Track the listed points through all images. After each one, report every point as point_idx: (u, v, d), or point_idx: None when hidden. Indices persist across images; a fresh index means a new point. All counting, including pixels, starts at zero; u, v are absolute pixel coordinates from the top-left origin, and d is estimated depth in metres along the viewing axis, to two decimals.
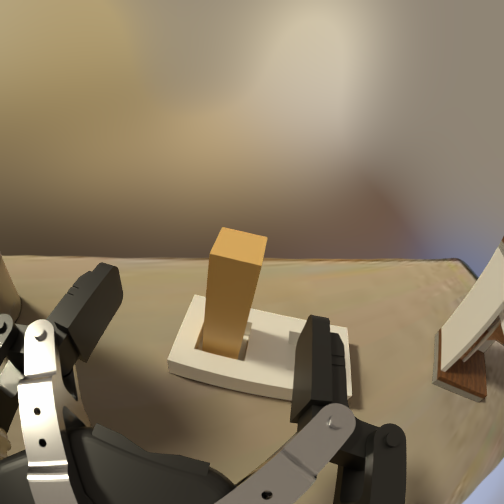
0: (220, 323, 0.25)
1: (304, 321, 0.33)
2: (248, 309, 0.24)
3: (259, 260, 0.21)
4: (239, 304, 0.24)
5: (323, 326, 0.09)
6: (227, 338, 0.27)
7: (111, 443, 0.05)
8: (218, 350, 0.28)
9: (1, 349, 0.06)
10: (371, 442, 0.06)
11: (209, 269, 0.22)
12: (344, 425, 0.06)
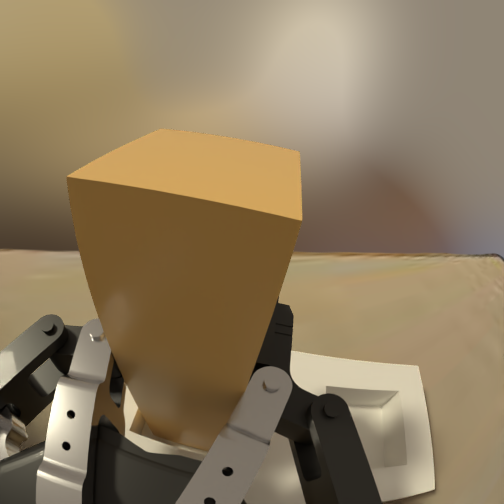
0: (168, 403, 0.08)
1: (351, 363, 0.16)
2: (240, 387, 0.07)
3: (287, 200, 0.04)
4: (211, 374, 0.07)
5: None
6: (194, 426, 0.10)
7: (111, 443, 0.05)
8: (181, 435, 0.11)
9: (43, 353, 0.06)
10: (310, 417, 0.06)
11: (82, 250, 0.05)
12: (278, 388, 0.07)
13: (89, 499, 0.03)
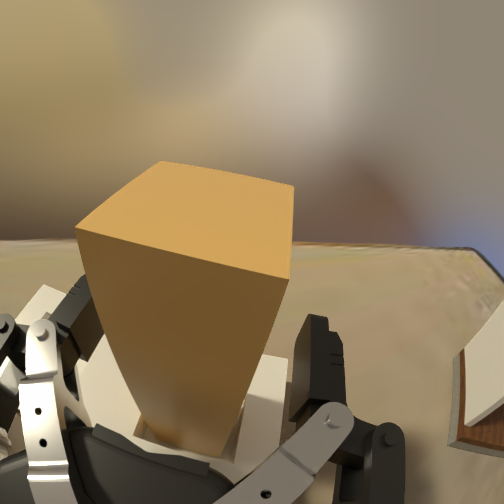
0: (171, 413, 0.09)
1: None
2: (237, 402, 0.07)
3: (277, 254, 0.05)
4: (211, 391, 0.07)
5: (322, 325, 0.09)
6: (194, 433, 0.10)
7: (111, 443, 0.05)
8: (182, 440, 0.12)
9: (2, 349, 0.06)
10: (369, 441, 0.06)
11: (92, 288, 0.05)
12: (342, 424, 0.06)
13: (80, 490, 0.03)
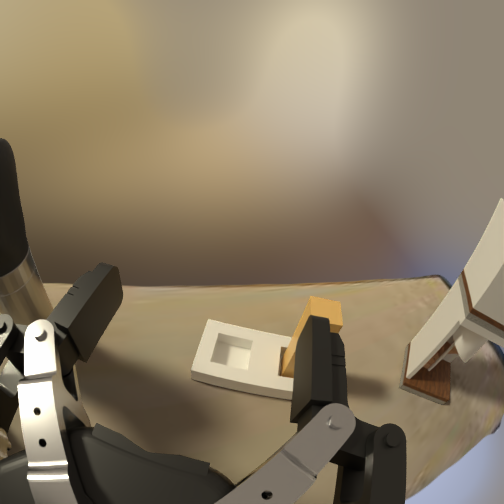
0: None
1: None
2: None
3: (340, 321, 0.31)
4: None
5: (323, 326, 0.09)
6: None
7: (111, 443, 0.05)
8: None
9: (1, 349, 0.06)
10: (371, 442, 0.06)
11: None
12: (344, 425, 0.06)
13: (80, 490, 0.03)
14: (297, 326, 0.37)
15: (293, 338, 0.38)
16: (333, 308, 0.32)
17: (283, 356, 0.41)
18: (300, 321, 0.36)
